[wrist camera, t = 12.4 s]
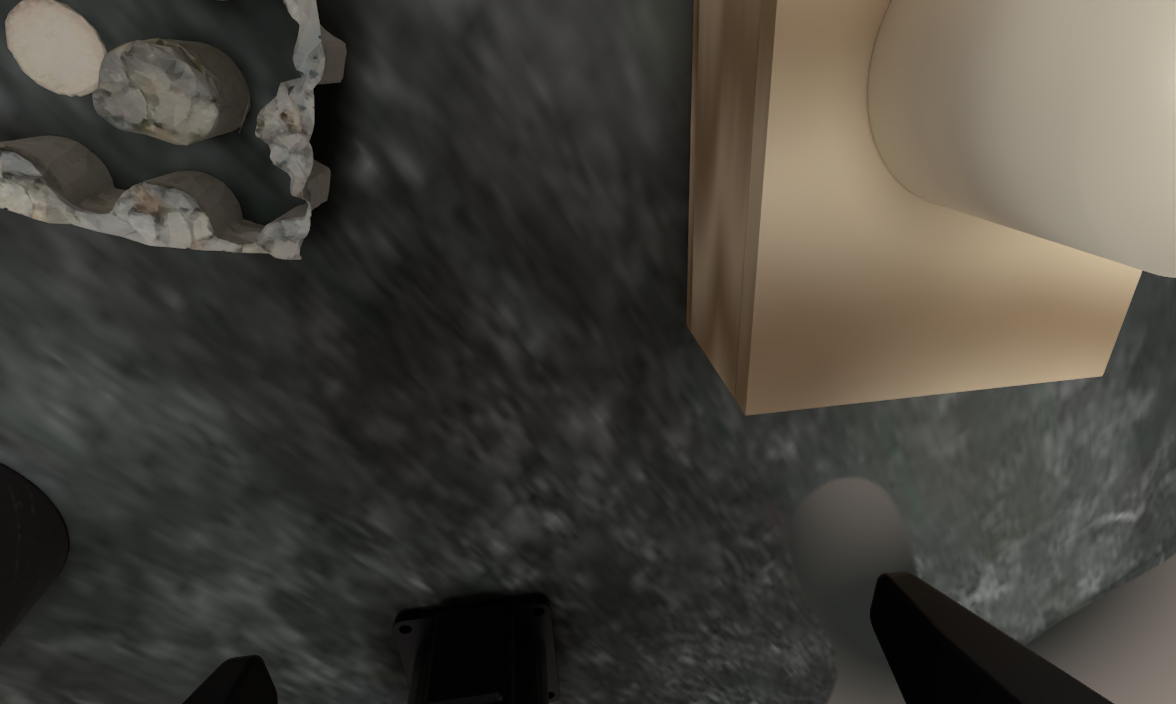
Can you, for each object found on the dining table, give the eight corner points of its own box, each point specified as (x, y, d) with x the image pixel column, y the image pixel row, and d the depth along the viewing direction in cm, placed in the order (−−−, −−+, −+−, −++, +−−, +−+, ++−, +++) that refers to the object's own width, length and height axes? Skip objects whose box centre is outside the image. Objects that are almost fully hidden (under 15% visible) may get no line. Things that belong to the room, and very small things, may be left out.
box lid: (1077, 362, 17) (1102, 375, 16) (734, 399, 16) (745, 415, 15) (1380, -500, 10) (1448, -543, 9) (795, -510, 9) (819, -559, 8)
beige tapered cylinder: (1093, 198, 14) (1375, 262, 9) (847, 217, 13) (1022, 295, 9) (1197, -124, 11) (1656, -250, 7) (896, -117, 11) (1180, -250, 6)
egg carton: (-92, 136, 16) (-274, 159, 12) (-122, -206, 13) (-370, -309, 9) (324, 258, 19) (277, 307, 15) (375, -5, 16) (332, -24, 12)
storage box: (959, 299, 21) (1076, 362, 17) (686, 325, 21) (734, 398, 16) (1108, -324, 14) (1379, -499, 10) (700, -320, 14) (794, -507, 9)
